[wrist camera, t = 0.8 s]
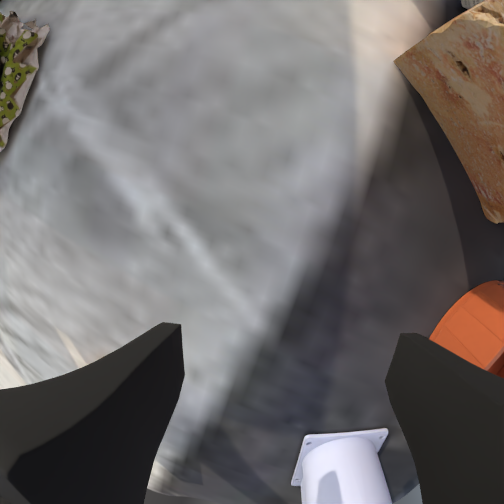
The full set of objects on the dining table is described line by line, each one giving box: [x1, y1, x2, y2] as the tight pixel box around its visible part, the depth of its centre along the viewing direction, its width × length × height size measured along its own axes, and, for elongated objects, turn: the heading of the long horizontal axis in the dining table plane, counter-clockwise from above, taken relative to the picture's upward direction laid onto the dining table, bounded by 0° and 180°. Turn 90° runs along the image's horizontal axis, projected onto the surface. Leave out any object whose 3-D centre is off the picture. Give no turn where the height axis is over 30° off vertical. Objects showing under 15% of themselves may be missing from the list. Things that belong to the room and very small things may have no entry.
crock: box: [429, 280, 504, 378], centre depth 16 cm, size 12×12×6 cm
